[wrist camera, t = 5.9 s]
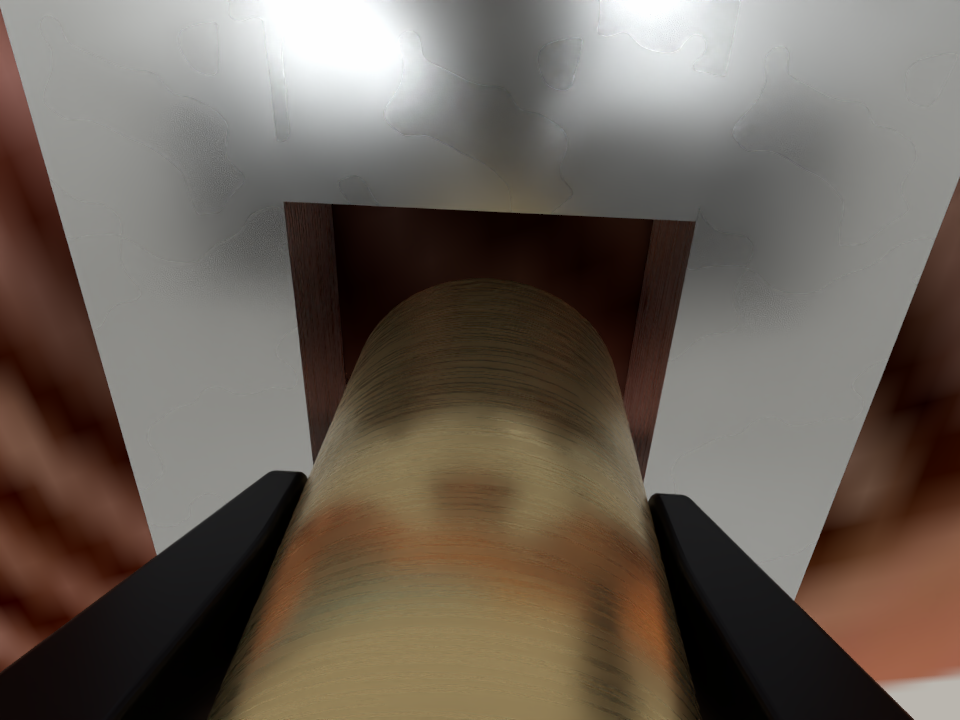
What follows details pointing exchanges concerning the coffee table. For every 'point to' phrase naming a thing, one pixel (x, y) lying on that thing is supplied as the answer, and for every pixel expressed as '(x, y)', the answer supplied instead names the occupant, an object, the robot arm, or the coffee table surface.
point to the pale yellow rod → (469, 535)
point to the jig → (501, 188)
